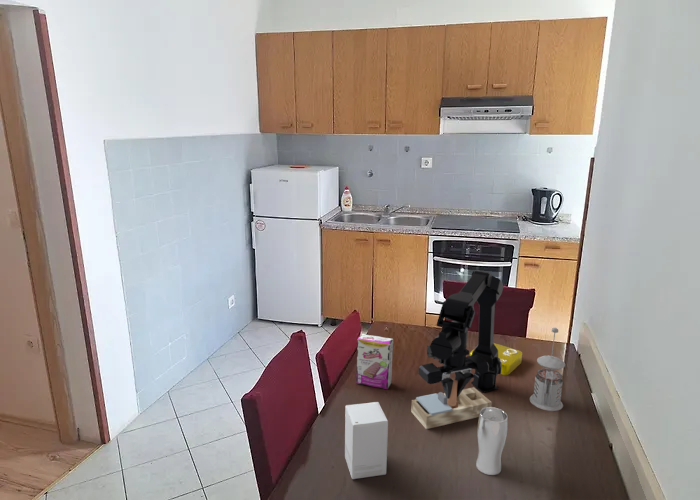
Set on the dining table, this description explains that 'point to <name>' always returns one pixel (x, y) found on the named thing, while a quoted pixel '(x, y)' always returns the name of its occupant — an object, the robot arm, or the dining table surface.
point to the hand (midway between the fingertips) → (452, 396)
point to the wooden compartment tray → (453, 409)
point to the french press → (548, 382)
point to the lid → (434, 403)
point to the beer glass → (491, 439)
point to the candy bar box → (374, 361)
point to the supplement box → (366, 440)
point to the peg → (453, 394)
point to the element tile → (507, 358)
